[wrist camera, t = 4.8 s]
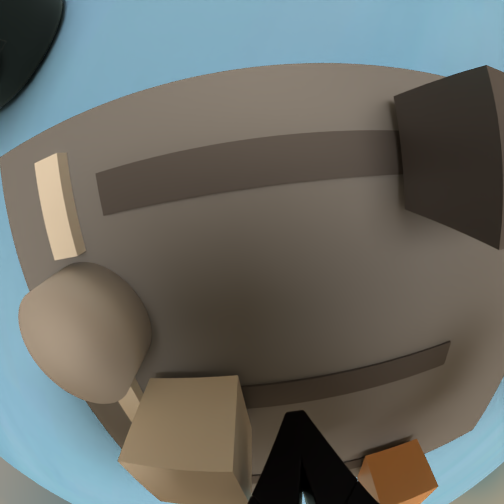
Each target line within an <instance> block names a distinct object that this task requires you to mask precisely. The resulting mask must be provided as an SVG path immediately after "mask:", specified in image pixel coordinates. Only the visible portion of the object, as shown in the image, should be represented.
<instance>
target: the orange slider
mask: <svg viewBox="0 0 504 504" xmlns="http://www.w3.org/2000/svg"><path fill="white" fill-rule="evenodd" d="M357 478H358V481H359V482H360V483H361V484H362V485H363V487H364V488H365V489H366V490H367V491H368V492H369V493H370V494H371V496H372V497H373V498H374V499H375V500H376V501H377V502H379V503H380V504H420V503H421V502H422V501H424V500H425V499H426V498H427V497H428V496H429V495H430V494H431V493H432V492H433V491H434V490H435V489H436V488H437V487H438V484H437V482H436V480H435V477H434V475H433V473H432V471H431V468H430V466H429V464H428V462H427V459H426V457H425V455H424V453H423V451H422V449H421V446H420V444H419V442H418V440H417V439H414V440H412V441H409V442H406V443H404V444H401V445H398V446H395V447H392V448H389V449H386V450H383V451H380V452H377V453H373V454H370V455H366V456H365V458H364V461H363V464H362V466H361V469H360V472H359V474H358V476H357Z"/></svg>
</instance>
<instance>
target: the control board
mask: <svg viewBox="0 0 504 504" xmlns="http://www.w3.org/2000/svg"><path fill="white" fill-rule="evenodd" d="M442 78H445V76H440V75H435V74H431V73H425V72H420V71H414V70H408V69H401V68H393V67H385V66H375V65H362V64H342V63H304V64H283V65H270V66H260V67H251V68H243V69H236V70H229V71H223V72H217V73H212V74H206V75H201V76H197V77H192V78H187V79H183V80H179V81H175V82H171V83H167V84H163V85H160V86H156V87H153V88H149V89H146V90H143V91H139V92H136V93H133V94H130V95H127V96H124V97H121V98H119V99H116V100H113V101H110V102H108V103H105V104H102V105H100V106H97V107H95V108H92V109H90V110H88V111H85V112H83V113H81V114H78V115H76V116H74V117H72V118H70V119H67V120H65V121H63V122H61V123H59V124H57V125H55V126H53V127H51V128H49V129H47V130H45V131H43V132H42V133H40V134H38V135H36V136H34V137H33V138H31V139H29V140H27V141H26V142H24V143H22V144H20V145H19V146H17V147H16V148H14V149H12V150H11V151H9V152H8V153H6V154H4V155H3V156H1V157H0V168H1V177H2V185H3V192H4V198H5V204H6V209H7V214H8V219H9V224H10V228H11V232H12V236H13V240H14V244H15V248H16V251H17V255H18V258H19V262H20V265H21V268H22V271H23V274H24V277H25V280H26V283H27V286H28V288H29V291H30V292H29V293H28V294H27V295H25V297H24V298H23V299H22V301H21V304H20V307H19V314H18V318H19V327H20V331H21V335H22V338H23V340H24V343H25V345H26V347H27V349H28V351H29V353H30V354H31V356H32V358H33V359H34V361H35V362H36V363H37V365H38V366H39V367H40V368H41V370H42V371H43V372H44V373H45V374H46V375H47V376H48V377H49V378H50V379H51V380H52V381H53V382H55V383H56V384H57V385H58V386H60V387H61V388H62V389H64V390H65V391H67V392H68V393H70V394H72V395H74V396H76V397H78V398H80V399H83V400H85V401H86V402H87V404H88V405H89V407H90V408H91V410H92V411H93V412H94V414H95V415H96V417H97V418H98V419H99V421H100V422H101V423H102V425H103V426H104V427H105V429H106V430H107V431H108V433H109V434H110V435H111V436H112V438H113V439H114V440H115V441H116V443H117V444H118V445H119V446H120V447H121V449H122V448H123V445H124V442H125V440H126V437H127V434H128V432H129V429H130V427H131V424H132V421H133V419H134V416H135V414H136V411H137V409H138V406H139V404H140V401H141V399H142V396H143V394H144V391H145V389H146V386H147V384H148V382H149V379H150V378H200V377H220V376H234V375H238V377H239V381H240V385H241V389H242V393H243V397H244V401H245V405H246V409H247V413H248V416H249V420H250V424H251V428H252V493H253V491H254V488H255V486H256V484H257V482H258V480H259V477H260V475H261V473H262V470H263V468H264V466H265V463H266V461H267V459H268V456H269V454H270V451H271V449H272V446H273V444H274V441H275V439H276V436H277V434H278V431H279V428H280V426H281V423H282V420H283V418H284V415H285V413H286V412H290V411H297V410H304V411H305V412H306V413H307V415H308V416H309V417H310V419H311V420H312V421H313V423H314V424H315V425H316V427H317V428H318V429H319V431H320V432H321V433H322V435H323V436H324V437H325V439H326V440H327V441H328V443H329V444H330V445H331V447H332V448H333V449H334V450H335V452H336V453H337V454H338V456H339V457H340V458H341V459H342V461H343V462H344V463H345V465H346V466H347V467H348V468H349V470H350V471H351V472H352V473H353V475H354V476H355V477H357V476H358V474H359V472H360V469H361V466H362V464H363V461H364V458H365V456H366V455H370V454H373V453H377V452H380V451H383V450H386V449H389V448H392V447H395V446H398V445H401V444H404V443H406V442H409V441H412V440H414V439H417V440H418V442H419V444H420V446H421V449H422V451H423V453H424V454H425V453H427V452H430V451H432V450H434V449H436V448H438V447H440V446H443V445H445V444H447V443H449V442H451V441H453V440H455V439H456V438H458V437H460V436H462V435H464V434H466V433H468V432H469V431H471V430H473V429H474V427H475V425H476V424H477V422H478V421H479V419H480V418H481V416H482V414H483V413H484V411H485V409H486V408H487V406H488V404H489V403H490V401H491V399H492V397H493V395H494V394H495V392H496V390H497V388H498V386H499V384H500V382H501V380H502V378H503V376H504V249H502V250H497V249H495V248H493V247H491V246H489V245H487V244H485V243H483V242H481V241H479V240H477V239H475V238H472V237H470V236H468V235H466V234H464V233H461V232H459V231H457V230H455V229H452V228H450V227H448V226H445V225H443V224H440V223H438V222H436V221H433V220H431V219H428V218H426V217H423V216H421V215H418V214H415V213H413V212H410V211H408V210H405V197H404V177H403V164H402V153H401V143H400V135H399V127H398V121H397V114H396V108H395V102H394V97H393V96H395V95H398V94H401V93H403V92H406V91H408V90H411V89H414V88H416V87H419V86H422V85H425V84H428V83H430V82H433V81H436V80H439V79H442Z"/></svg>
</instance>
